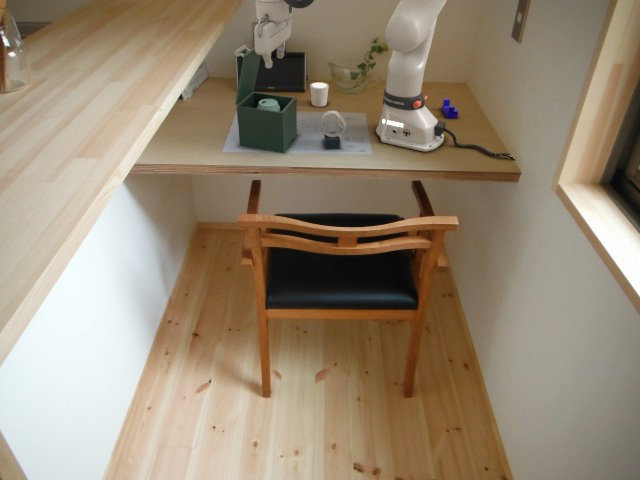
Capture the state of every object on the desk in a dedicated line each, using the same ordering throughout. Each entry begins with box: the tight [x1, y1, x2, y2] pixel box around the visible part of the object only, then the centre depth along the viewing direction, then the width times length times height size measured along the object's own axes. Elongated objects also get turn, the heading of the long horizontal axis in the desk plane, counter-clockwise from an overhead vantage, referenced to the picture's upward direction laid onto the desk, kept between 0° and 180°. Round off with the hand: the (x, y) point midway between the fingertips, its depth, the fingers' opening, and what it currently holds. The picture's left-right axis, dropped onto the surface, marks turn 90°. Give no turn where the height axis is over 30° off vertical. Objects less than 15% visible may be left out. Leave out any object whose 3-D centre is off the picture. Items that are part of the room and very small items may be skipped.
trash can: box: [235, 91, 298, 153], centre depth 144 cm, size 15×13×13 cm
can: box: [257, 99, 280, 112], centre depth 143 cm, size 7×7×12 cm
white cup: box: [309, 81, 330, 108], centre depth 170 cm, size 7×7×7 cm
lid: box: [233, 44, 262, 106], centre depth 136 cm, size 15×13×5 cm
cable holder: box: [441, 98, 459, 119], centre depth 166 cm, size 8×4×4 cm, turn 2°
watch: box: [319, 110, 347, 150], centre depth 143 cm, size 6×8×11 cm
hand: (275, 62), depth 135 cm, fingers open, 8 cm apart
